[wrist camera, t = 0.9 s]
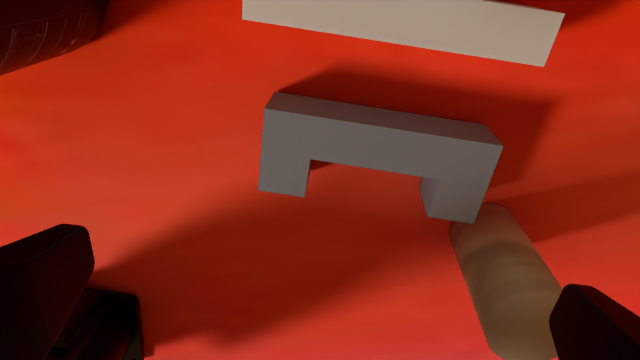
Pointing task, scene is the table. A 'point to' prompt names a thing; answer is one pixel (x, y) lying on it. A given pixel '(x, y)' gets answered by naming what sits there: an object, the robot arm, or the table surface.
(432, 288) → the table surface
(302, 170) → the block
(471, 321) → the table surface
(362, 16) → the wall
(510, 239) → the dowel
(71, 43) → the supplement bottle
